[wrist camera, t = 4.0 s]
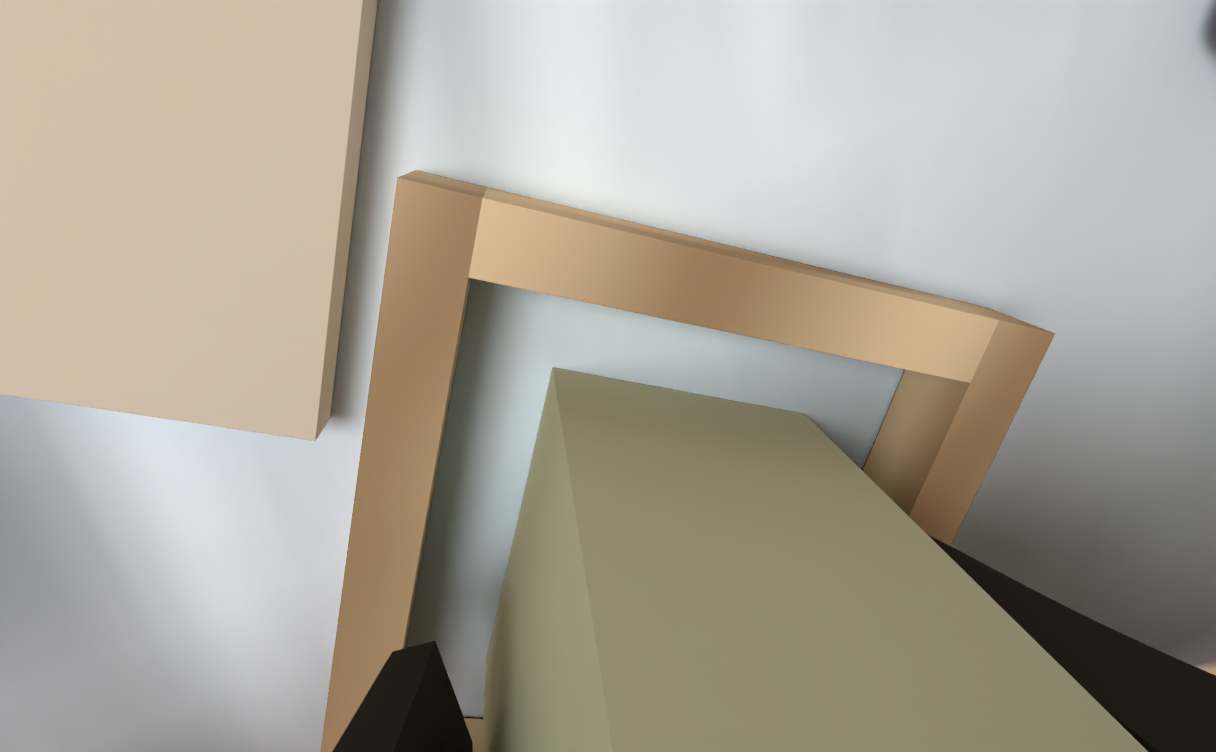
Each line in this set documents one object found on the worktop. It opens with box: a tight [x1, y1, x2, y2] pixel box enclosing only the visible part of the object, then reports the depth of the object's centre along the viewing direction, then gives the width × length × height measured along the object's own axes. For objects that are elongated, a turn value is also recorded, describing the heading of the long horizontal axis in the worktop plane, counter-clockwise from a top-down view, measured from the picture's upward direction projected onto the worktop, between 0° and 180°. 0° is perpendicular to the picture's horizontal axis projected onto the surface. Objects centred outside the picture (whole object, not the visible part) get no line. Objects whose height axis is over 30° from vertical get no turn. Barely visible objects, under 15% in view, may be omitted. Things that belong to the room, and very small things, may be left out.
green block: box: [481, 368, 1148, 752], centre depth 8 cm, size 4×6×7 cm
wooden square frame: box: [321, 170, 1055, 752], centre depth 11 cm, size 10×11×2 cm
